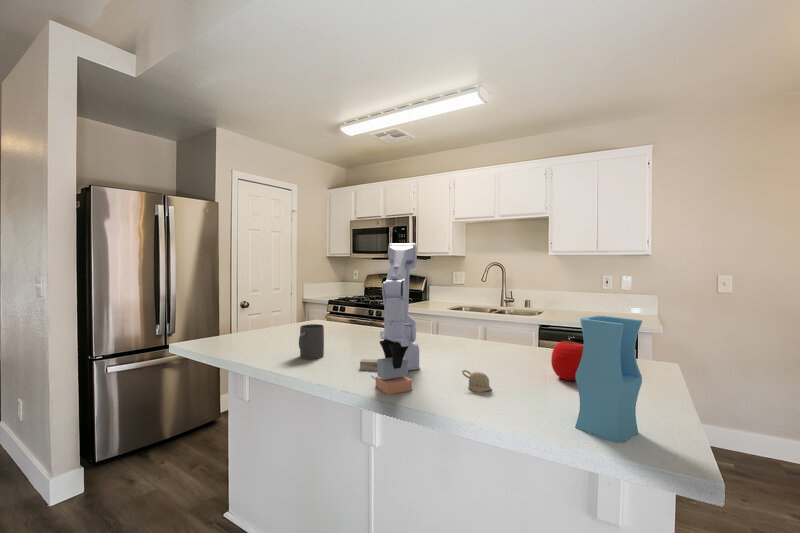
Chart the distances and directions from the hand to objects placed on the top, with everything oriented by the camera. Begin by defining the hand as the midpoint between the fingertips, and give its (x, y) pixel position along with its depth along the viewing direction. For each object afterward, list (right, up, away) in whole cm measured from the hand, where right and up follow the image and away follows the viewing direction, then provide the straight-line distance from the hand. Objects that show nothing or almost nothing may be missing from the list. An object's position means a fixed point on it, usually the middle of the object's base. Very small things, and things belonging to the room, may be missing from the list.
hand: (393, 366), depth 112 cm
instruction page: (-3, -6, +11) cm, 13 cm away
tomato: (+57, -7, +9) cm, 58 cm away
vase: (+49, -8, -27) cm, 56 cm away
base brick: (0, -7, 0) cm, 7 cm away
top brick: (0, -3, 0) cm, 3 cm away
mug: (-33, -6, +34) cm, 48 cm away
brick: (-8, -7, +21) cm, 23 cm away
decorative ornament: (+25, -7, 0) cm, 26 cm away
